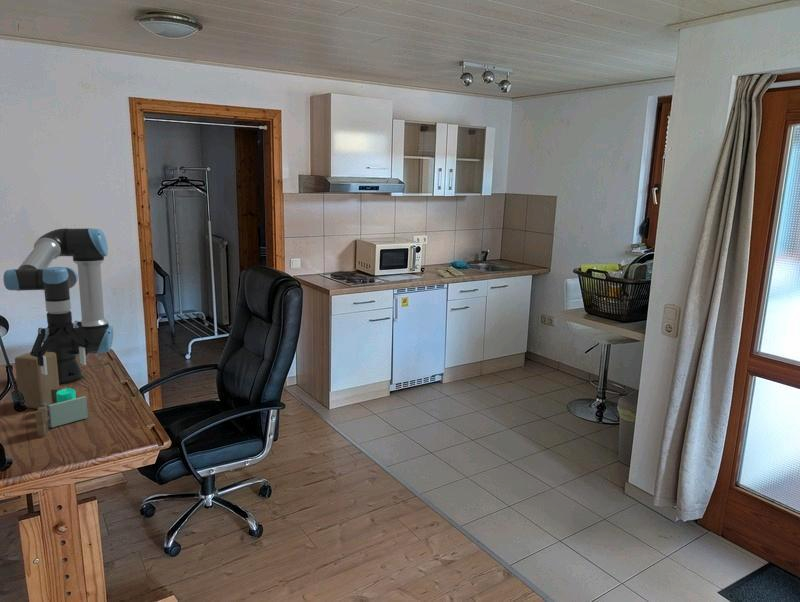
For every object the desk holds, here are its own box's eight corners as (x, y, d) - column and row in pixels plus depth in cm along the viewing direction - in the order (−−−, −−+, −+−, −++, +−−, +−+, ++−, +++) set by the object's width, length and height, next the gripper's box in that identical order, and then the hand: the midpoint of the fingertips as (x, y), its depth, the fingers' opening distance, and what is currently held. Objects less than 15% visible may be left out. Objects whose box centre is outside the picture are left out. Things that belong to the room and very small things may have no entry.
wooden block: (41, 410, 215) (36, 359, 211) (18, 407, 217) (13, 357, 213) (61, 400, 225) (57, 351, 221) (40, 398, 227) (34, 349, 223)
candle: (63, 415, 212) (60, 384, 209) (80, 415, 212) (77, 384, 210) (55, 422, 206) (52, 390, 203) (73, 421, 206) (70, 390, 204)
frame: (56, 409, 217) (54, 385, 215) (62, 408, 217) (60, 385, 215) (37, 437, 194) (35, 411, 192) (44, 436, 194) (41, 410, 192)
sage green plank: (51, 427, 200) (49, 406, 199) (50, 426, 201) (48, 405, 199) (88, 417, 209) (86, 396, 207) (86, 416, 210) (84, 396, 208)
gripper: (88, 303, 213) (92, 358, 218) (14, 316, 193) (21, 376, 197) (99, 306, 209) (104, 362, 214) (25, 319, 189) (32, 380, 193)
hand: (64, 369), depth 206 cm, fingers open, 13 cm apart
